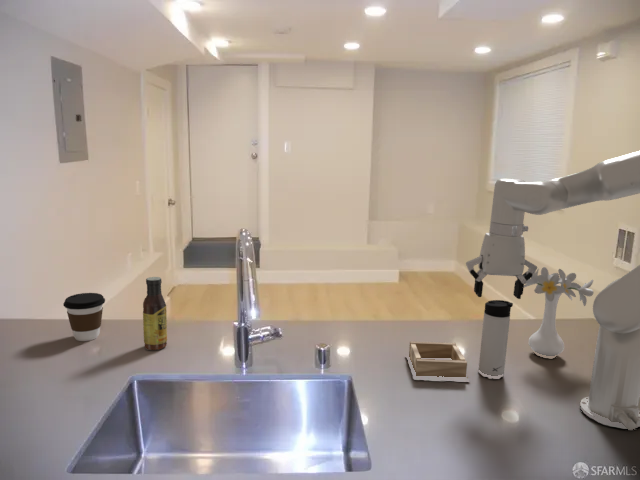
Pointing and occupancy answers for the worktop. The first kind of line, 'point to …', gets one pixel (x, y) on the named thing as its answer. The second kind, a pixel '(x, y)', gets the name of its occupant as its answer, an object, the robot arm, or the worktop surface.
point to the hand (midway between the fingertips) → (497, 296)
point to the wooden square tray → (437, 367)
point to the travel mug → (494, 337)
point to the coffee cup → (85, 315)
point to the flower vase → (553, 308)
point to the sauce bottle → (154, 316)
